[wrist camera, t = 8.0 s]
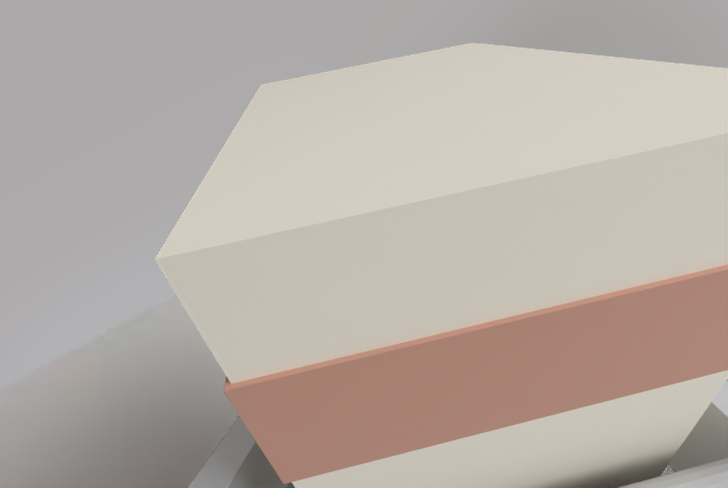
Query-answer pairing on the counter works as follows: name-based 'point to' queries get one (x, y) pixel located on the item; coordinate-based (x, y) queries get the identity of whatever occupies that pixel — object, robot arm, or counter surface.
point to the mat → (290, 485)
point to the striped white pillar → (467, 268)
